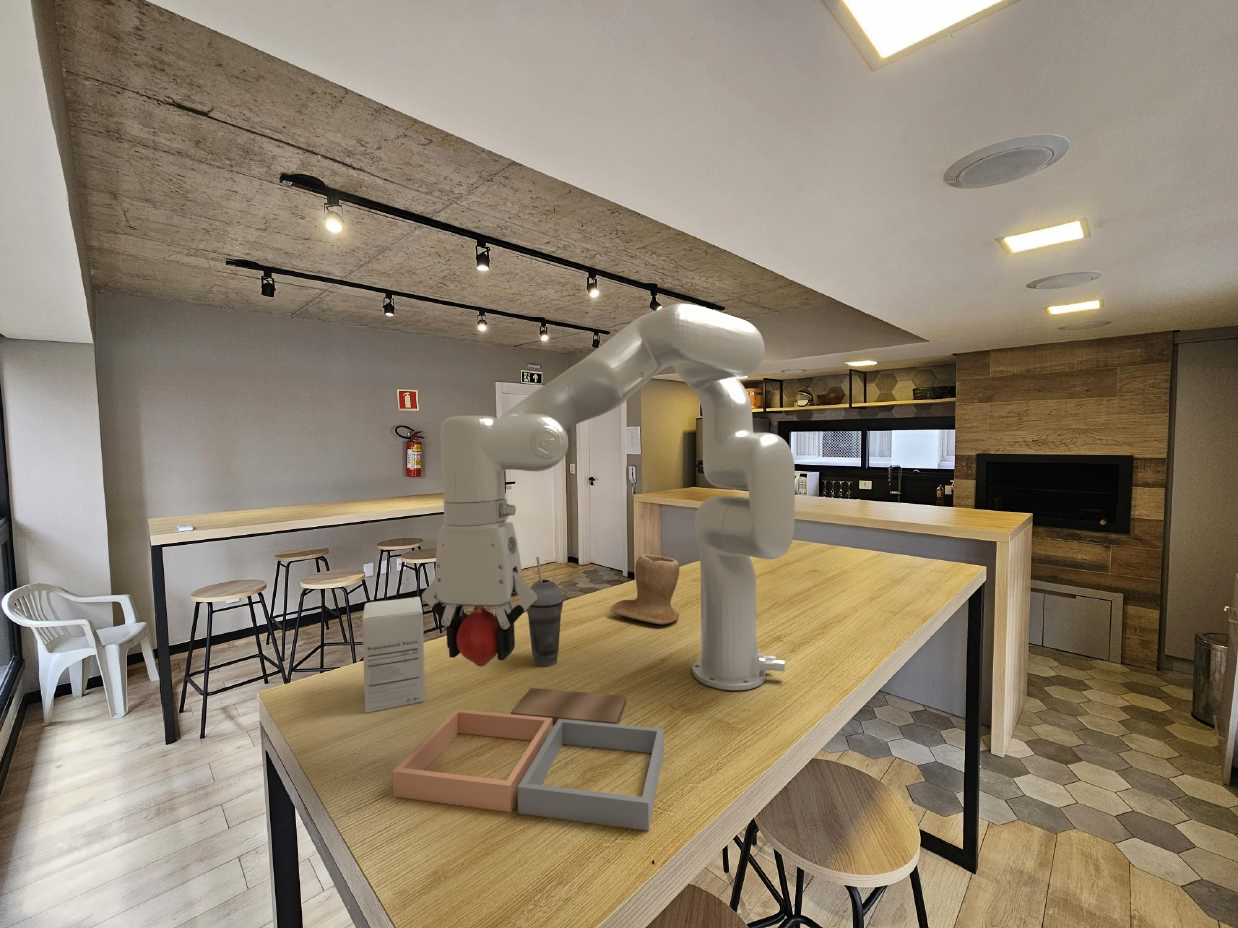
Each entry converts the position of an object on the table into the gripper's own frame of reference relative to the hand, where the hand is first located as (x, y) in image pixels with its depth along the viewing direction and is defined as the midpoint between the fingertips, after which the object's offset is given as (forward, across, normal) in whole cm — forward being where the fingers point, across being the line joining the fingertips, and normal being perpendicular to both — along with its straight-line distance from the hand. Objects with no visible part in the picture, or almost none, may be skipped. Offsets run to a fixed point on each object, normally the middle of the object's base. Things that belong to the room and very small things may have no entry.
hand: (481, 653), depth 66 cm
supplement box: (+15, +23, -14) cm, 31 cm away
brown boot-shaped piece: (+16, -13, -59) cm, 63 cm away
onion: (+2, 0, 0) cm, 2 cm away
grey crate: (+15, -15, +1) cm, 21 cm away
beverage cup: (+15, +3, -31) cm, 35 cm away
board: (+15, -7, -14) cm, 22 cm away
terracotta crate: (+14, 0, +1) cm, 14 cm away
